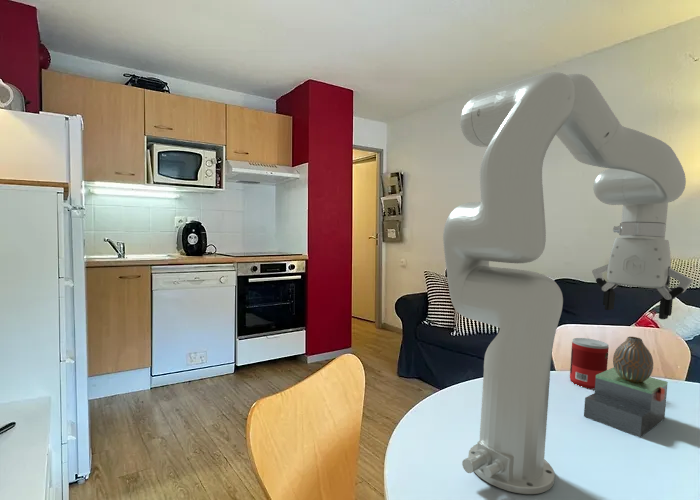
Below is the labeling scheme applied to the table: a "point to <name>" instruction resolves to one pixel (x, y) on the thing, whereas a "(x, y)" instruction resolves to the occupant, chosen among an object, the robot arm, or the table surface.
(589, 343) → the canned food
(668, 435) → the table surface
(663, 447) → the table surface
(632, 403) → the stand
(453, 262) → the robot arm
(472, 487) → the table surface
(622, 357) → the vase
